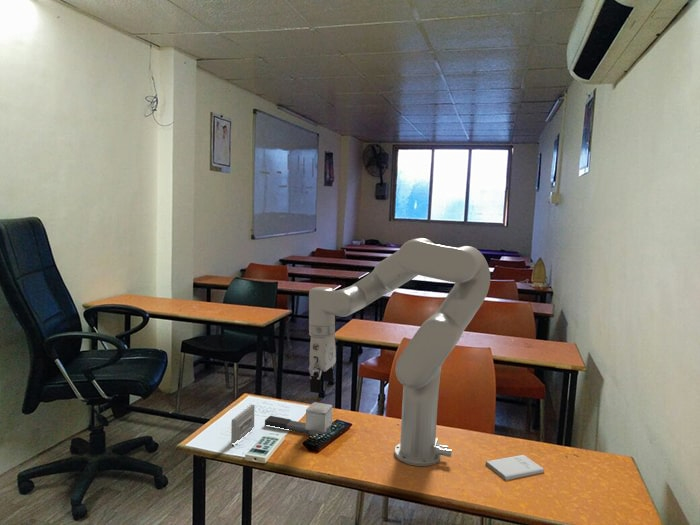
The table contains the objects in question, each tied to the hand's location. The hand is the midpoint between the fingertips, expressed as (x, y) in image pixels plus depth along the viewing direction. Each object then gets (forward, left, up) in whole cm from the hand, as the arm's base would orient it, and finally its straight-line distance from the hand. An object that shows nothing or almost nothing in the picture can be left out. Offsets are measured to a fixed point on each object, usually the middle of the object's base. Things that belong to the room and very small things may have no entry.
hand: (322, 386), depth 146 cm
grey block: (+1, 0, -12) cm, 12 cm away
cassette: (+20, +10, -15) cm, 27 cm away
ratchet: (+7, 0, -15) cm, 16 cm away
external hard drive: (-55, -1, -15) cm, 57 cm away
